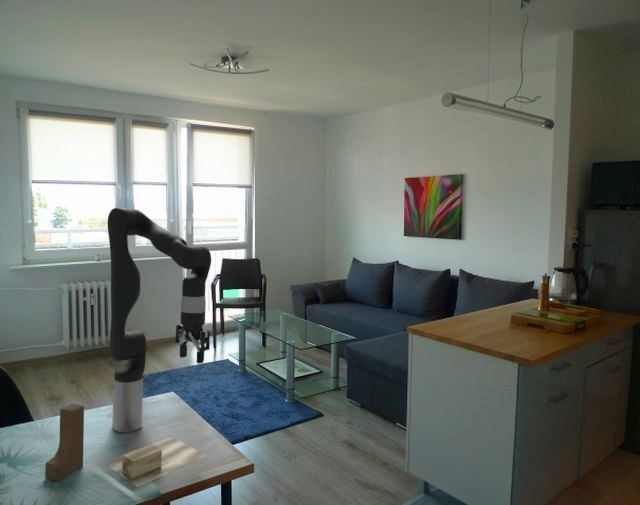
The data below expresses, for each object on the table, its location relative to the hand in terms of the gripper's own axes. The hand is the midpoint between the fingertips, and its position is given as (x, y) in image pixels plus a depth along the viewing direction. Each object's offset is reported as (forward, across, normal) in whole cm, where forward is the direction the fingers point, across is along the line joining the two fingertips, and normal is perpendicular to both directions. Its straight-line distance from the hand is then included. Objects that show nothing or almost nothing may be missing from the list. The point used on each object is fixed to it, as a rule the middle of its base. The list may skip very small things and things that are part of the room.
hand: (191, 360), depth 149 cm
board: (+28, +2, -13) cm, 31 cm away
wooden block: (+28, -12, -33) cm, 45 cm away
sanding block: (+27, +5, -20) cm, 34 cm away
